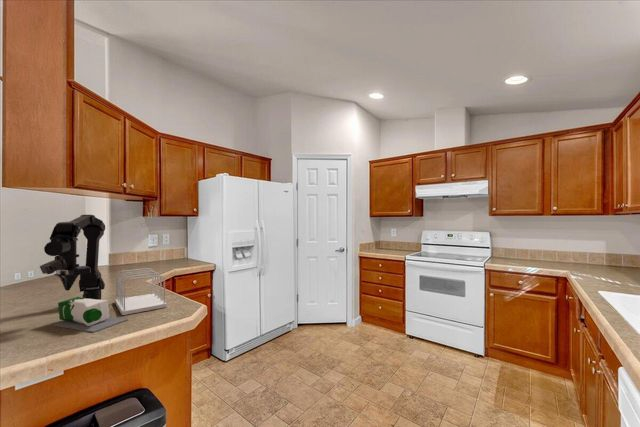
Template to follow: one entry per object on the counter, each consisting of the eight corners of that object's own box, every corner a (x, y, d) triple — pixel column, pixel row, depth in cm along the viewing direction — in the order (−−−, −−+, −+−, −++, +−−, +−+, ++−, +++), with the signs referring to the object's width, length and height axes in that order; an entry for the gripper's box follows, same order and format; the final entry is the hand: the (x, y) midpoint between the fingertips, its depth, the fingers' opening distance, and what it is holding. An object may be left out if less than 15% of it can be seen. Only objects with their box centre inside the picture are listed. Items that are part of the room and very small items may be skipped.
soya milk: (54, 301, 113) (88, 306, 107) (80, 293, 122) (113, 298, 115) (56, 322, 114) (90, 329, 107) (82, 313, 123) (115, 319, 116)
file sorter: (167, 307, 133) (167, 274, 133) (121, 316, 122) (122, 279, 122) (154, 296, 152) (154, 267, 152) (114, 303, 141) (114, 271, 141)
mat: (90, 314, 124) (90, 313, 124) (127, 320, 117) (127, 319, 117) (53, 325, 111) (53, 324, 111) (93, 332, 104) (93, 331, 104)
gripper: (28, 254, 114) (28, 293, 114) (60, 256, 108) (60, 297, 108) (60, 250, 125) (60, 286, 125) (91, 252, 119) (91, 290, 119)
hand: (67, 290), depth 119 cm, fingers closed
